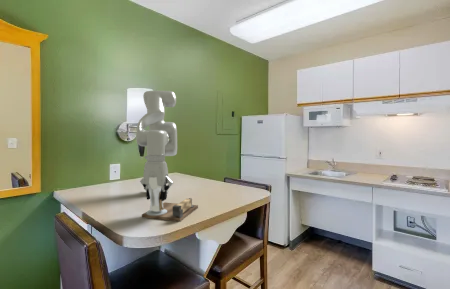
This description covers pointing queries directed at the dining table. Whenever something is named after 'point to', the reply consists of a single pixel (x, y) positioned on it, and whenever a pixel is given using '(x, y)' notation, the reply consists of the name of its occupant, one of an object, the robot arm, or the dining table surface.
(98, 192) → the dining table surface
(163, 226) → the dining table surface
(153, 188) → the beer glass
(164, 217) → the seat board
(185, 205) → the leg
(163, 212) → the felt pad
